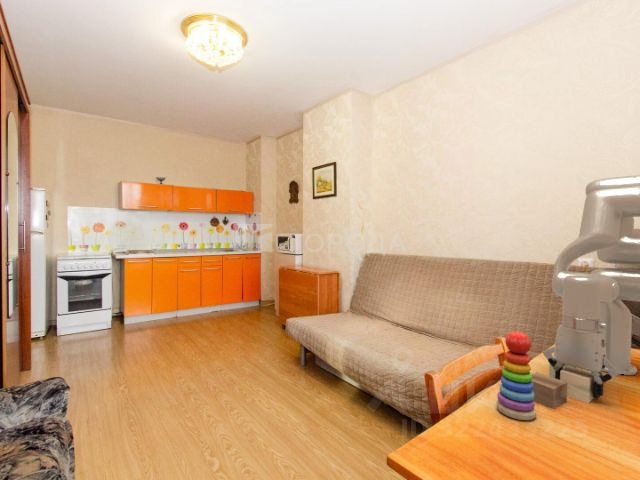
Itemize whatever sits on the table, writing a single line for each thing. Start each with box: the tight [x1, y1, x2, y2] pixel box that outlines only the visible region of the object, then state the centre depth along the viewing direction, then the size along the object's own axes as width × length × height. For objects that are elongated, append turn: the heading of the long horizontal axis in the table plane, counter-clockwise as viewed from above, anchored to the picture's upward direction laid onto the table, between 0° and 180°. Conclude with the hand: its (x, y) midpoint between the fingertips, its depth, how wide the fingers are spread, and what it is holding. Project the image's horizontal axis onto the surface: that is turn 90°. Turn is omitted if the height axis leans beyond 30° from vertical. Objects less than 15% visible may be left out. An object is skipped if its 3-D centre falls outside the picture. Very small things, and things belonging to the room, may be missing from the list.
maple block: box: [560, 366, 595, 404], centre depth 85 cm, size 6×6×6 cm
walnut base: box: [531, 371, 568, 410], centre depth 82 cm, size 7×7×5 cm
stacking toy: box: [496, 331, 537, 421], centre depth 75 cm, size 8×8×19 cm
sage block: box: [548, 355, 577, 378], centre depth 94 cm, size 5×5×6 cm
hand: (577, 390), depth 85 cm, fingers open, 7 cm apart
